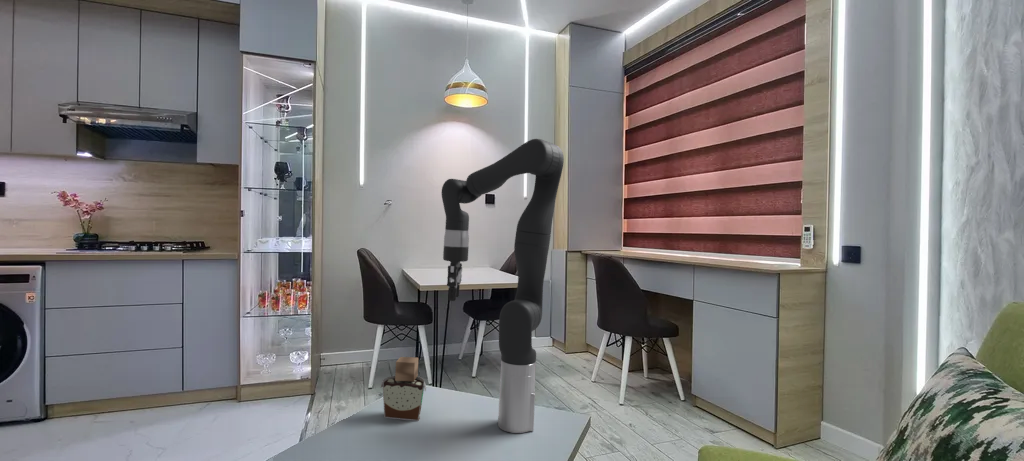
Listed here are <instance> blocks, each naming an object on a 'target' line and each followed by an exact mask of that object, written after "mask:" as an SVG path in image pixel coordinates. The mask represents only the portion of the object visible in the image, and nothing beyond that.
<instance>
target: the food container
mask: <svg viewBox="0 0 1024 461" xmlns="http://www.w3.org/2000/svg"><path fill="white" fill-rule="evenodd" d="M380 388H382V395H383V396H382V397H383V415H384V416H383V418H384V419H394V420H404V421H414V422H419V420H420V417H421V412H422V411H421V410H422V404H423V398H424V397H423V396H424V392H426V391H427V384H426V382H425V379H424V378H423V377H421V376H417V377H416V379H415V381H414V382H413V381H395V375H392V376H389V377H386V378H384V379H382V382H381V384H380Z"/></svg>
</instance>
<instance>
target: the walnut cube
mask: <svg viewBox="0 0 1024 461" xmlns="http://www.w3.org/2000/svg"><path fill="white" fill-rule="evenodd" d="M418 373H419V357H416V356H415V357H411V356H410V357H409V356H400V357H399V358H398V359H397V360H396V361H395V374H394V376H395V381H413V382H414V381H415V379H416V377H417V376H418V375H419V374H418ZM418 377H419V376H418Z"/></svg>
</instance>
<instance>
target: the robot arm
mask: <svg viewBox="0 0 1024 461" xmlns="http://www.w3.org/2000/svg"><path fill="white" fill-rule="evenodd" d="M564 161H565V158H564V152H563V150H562V148H561V147H560V146H558V145H557V144H555V143H552V142H550V141H547V140H544V139H540V138H532V139H529V140H528V141H526V142H524V143H523V144H521V145H519V147H517V148H516V149H514V150H512V151H511V152H510V153H508V154H507V155H505V156H504V157H502V158H500V159H499V160H497V161H496V162H494V163H492V164H490V165H488V166H486V167H483V168H481V169H478V170H476V171H474V172H472V173H470V174H469V175H468V176H467V177H466V179H465V180H463V179H457V178H447V179H446V181H444V183H443V184H442V186H441V199H442V205H443V209H444V214H445V228H444V229H445V231H444V237H443V252H442V253H443V254H442V256H443V257H442V258H443V259H442V260H443V261H446V262H450V263H449V264H450V265H448V266H447V277H446V278H447V279H446V280H447V282H446V286H447V288H448V290H447V292H448V294H447V300H448V301H449V302H455V301H456V300H457V298H459V296H460V286H461V284H462V282H461V281H462V277H463V274H462V272H463V264H462V263H461V262H463V263H464V262H468V260H469V243H470V235H469V234H470V233H469V230H470V229H469V227H470V226H469V224H470V223H469V222H470V215H469V213H468V212H466V211H465V210H462V207H461V205H460V204H470V203H472V202H475V201H476V200H478V199H479V198H480V197H481V196H483V195H486V194H488V193H491V192H493V191H496V190H498V189H499V188H501V187H502V186H503V185H505V183H506V182H507V181H508V180H509V179H511V178H513V177H515V176H520V175H524V174H531V175H534V176H535V179H534V188H533V191H532V192H533V193H532V196H531V197H530V201H529V202H528V204H527V205H526V207H525V208H524V210H523V211H522V213H521V215H520V217H519V219H518V221H517V225H516V231H515V237H514V245H513V246H514V248H513V249H514V258H515V264H516V268H517V287H516V292H515V297H514V300H511V301H508V302H507V303H505V304H504V305H503V306H502V308H501V310H500V313H499V317H498V318H499V319H498V348H499V351H500V373H499V374H500V380H499V398H498V417H497V418H498V419H497V420H498V421H497V426H498V428H499V429H500V430H502V431H504V432H508V433H513V434H522V433H523V434H524V433H527V432H534V430H535V429H534V427H535V404H536V391H535V388H536V368H537V367H536V366H537V365H536V364H537V351H536V350H535V349H534V348H533V346H532V344H533V343H532V342H533V341H532V339H533V338H532V337H533V336H532V334H533V333H532V332H534V331H535V330H536V329H537V328H538V327H539V326H540V325H541V322H542V317H543V300H544V299H543V297H544V295H543V294H544V281H545V275H546V270H547V262H548V255H549V250H550V243H551V238H552V237H551V234H552V228H553V227H552V225H553V218H554V213H555V212H554V211H555V205H556V199H557V193H558V189H559V186H560V182H561V178H562V173H563V168H564Z"/></svg>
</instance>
